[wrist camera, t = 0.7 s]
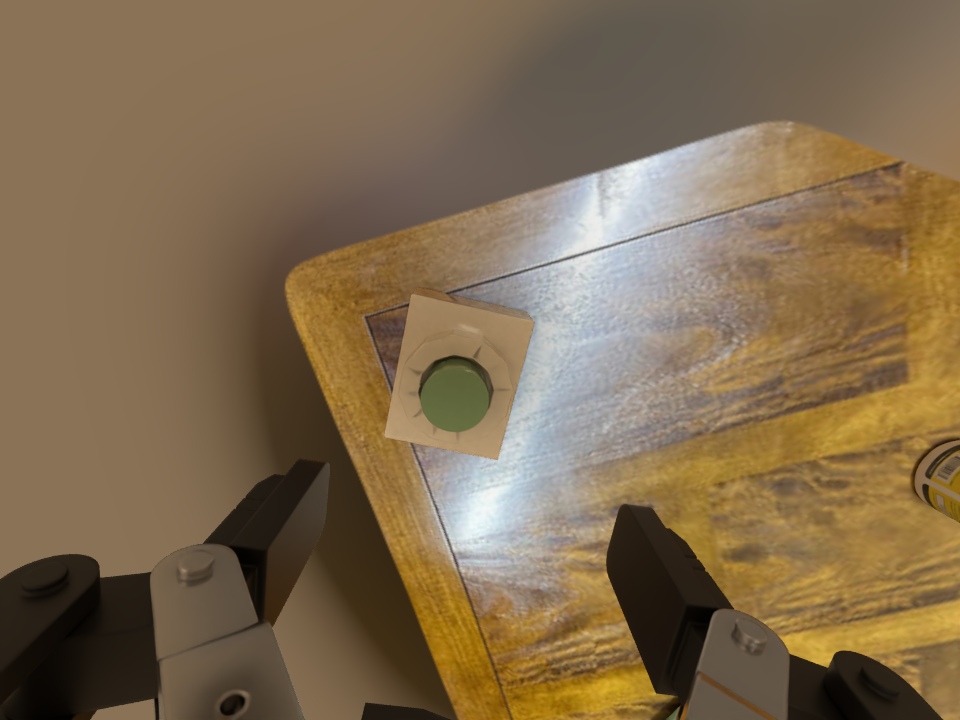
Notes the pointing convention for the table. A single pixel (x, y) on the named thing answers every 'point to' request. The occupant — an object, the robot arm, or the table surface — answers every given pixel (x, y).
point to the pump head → (455, 395)
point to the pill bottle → (941, 479)
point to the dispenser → (468, 336)
